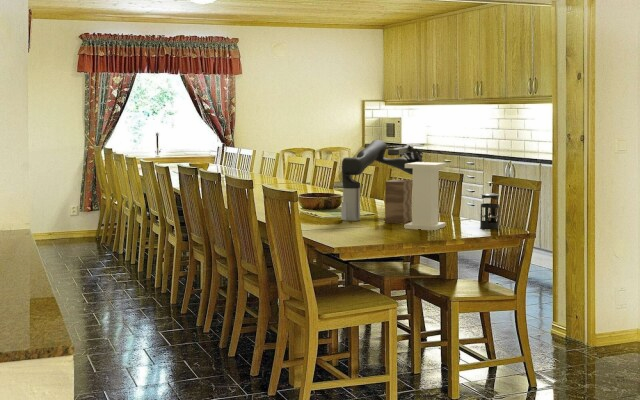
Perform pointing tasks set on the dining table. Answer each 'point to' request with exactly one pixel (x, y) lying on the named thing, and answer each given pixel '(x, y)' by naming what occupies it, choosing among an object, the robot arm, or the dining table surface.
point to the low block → (398, 201)
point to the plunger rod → (398, 150)
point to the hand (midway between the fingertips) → (405, 146)
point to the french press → (493, 223)
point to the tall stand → (425, 196)
